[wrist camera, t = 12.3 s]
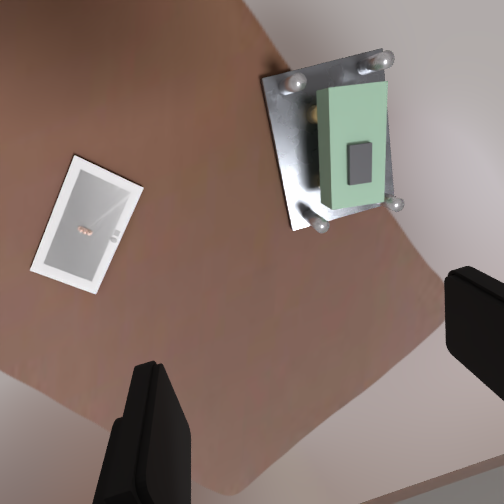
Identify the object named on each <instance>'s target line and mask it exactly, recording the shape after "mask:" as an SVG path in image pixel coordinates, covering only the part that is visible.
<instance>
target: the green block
mask: <svg viewBox="0 0 504 504" xmlns="http://www.w3.org/2000/svg"><path fill="white" fill-rule="evenodd" d="M387 86H388V81H383V82H374V83H365V84H356V85H348V86H339V87H330V88H325V89H322V90H318V91H316V96H317V122H318V147H319V172H320V197H321V204H323V205H325V206H326V207H328V208H330V209H331V210H335V209H342V208H348V207H354V206H361V205H367V204H374V203H380V202H384V192H385V157H386V123H387V88H388V87H387Z"/></svg>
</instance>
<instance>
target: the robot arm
mask: <svg viewBox="0 0 504 504" xmlns="http://www.w3.org/2000/svg"><path fill="white" fill-rule="evenodd" d="M444 287H445V328H446V346H447V348H448V350H449V352H450V353H451V354H452V355H453V356H454V357H455V358H456V359H457V360H458V361H460V362H461V363H462V364H463V365H464V366H465V367H466V368H467V369H468V370H470V371H471V372H472V373H473V374H474V375H475V376H476V377H478V378H479V379H480V380H481V381H482V382H483V383H484V384H486V386H488V387H489V388H490V389H491V390H492V391H493V392H494V393H496V394H497V395H498V396H499V397H500V398H501V399H502V400H503V401H504V283H502V282H500V281H498V280H496V279H494V278H492V277H490V276H488V275H487V274H485V273H483V272H480V271H479V270H477V269H475V268H473V267H470V266H465V267H462V268H459V269H456V270H452V271H450V272H449V273H448V277H446V278H445V281H444ZM92 504H191V433H190V428H189V425H188V422H187V420H186V418H185V415H184V413H183V411H182V408H181V406H180V404H179V401H178V399H177V396H176V394H175V392H174V389H173V387H172V385H171V382H170V380H169V378H168V375H167V373H166V370H165V368H164V366H163V364H162V363H160V364H156V362H155V361H150V362H147V363H144V364H140V365H137V366H135V368H134V371H133V375H132V379H131V384H130V388H129V392H128V396H127V401H126V405H125V409H124V413H123V417H121V418H117V419H116V420H115V421H114V424H113V426H112V430H111V434H110V438H109V442H108V446H107V449H106V453H105V458H104V461H103V465H102V469H101V473H100V476H99V480H98V484H97V488H96V492H95V495H94V499H93V503H92ZM360 504H504V454H503V455H500V456H497V457H494V458H491V459H488V460H485V461H482V462H479V463H477V464H473V465H471V466H468V467H465V468H462V469H459V470H456V471H453V472H450V473H447V474H444V475H442V476H438V477H436V478H433V479H430V480H427V481H424V482H421V483H418V484H415V485H412V486H409V487H406V488H404V489H401V490H398V491H395V492H392V493H389V494H387V495H383V496H381V497H378V498H375V499H372V500H369V501H366V502H363V503H360Z"/></svg>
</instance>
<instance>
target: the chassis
mask: <svg viewBox="0 0 504 504" xmlns="http://www.w3.org/2000/svg"><path fill="white" fill-rule="evenodd" d="M393 63H394V54H393V53H392V52H391V51H388V50H386V51H384V52H383V49H382V48H381V49H377V50H373V51H369V52H365V53H362V54H358V55H354V56H349V57H346V58H342V59H338V60H334V61H330V62H326V63H322V64H318V65H314V66H310V67H306V68H302V69H298V70H294V71H290V72H286V73H282V74H278V75H274V76H270V77H266V78H262V79H261V84H262V89H263V94H264V99H265V104H266V109H267V114H268V119H269V124H270V129H271V133H272V138H273V143H274V148H275V153H276V158H277V163H278V168H279V173H280V178H281V182H282V187H283V192H284V197H285V202H286V207H287V212H288V217H289V222H290V227H291V229H292V230H293V231H294V230H298V229H301V228H305V227H308V226H312V227H313V228H314V229H315V230H317V231H318V232H319V233H325V232H326V231H327V230H328V229H329V222H328V221H329V220H333V219H336V218H340V217H343V216H347V215H350V214H354V213H357V212H361V211H364V210H368V209H372V208H375V207H379V206H383V207H386V208H388V209H390V210H393V211H395V212H398V211H400V210H402V209H403V207H404V201H403V200H402V199H401V198H398V197H396V196H394V188H393V175H392V163H391V150H390V137H389V125H388V112H387V123H386V157H385V192H384V202H380V203H374V204H367V205H361V206H354V207H348V208H342V209H335V210H331V209H330V208H328V207H326V206H325V205H323V204H321V197H320V172H319V147H318V122H317V96H316V91H318V90H322V89H325V88H330V87H339V86H348V85H356V84H365V83H374V82H383V81H385V74H384V69H387V68H390V67H391V66H392V65H393Z"/></svg>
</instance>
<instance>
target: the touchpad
mask: <svg viewBox="0 0 504 504" xmlns="http://www.w3.org/2000/svg"><path fill="white" fill-rule="evenodd" d="M142 191H143V187H141V186H139V185H136V184H134V183H132V182H130V181H128V180H126V179H124V178H122V177H120V176H118V175H115V174H113V173H111V172H109V171H107V170H105V169H103V168H101V167H99V166H97V165H94V164H92V163H90V162H88V161H86V160H84V159H82V158H80V157H78V156H76V155H74V158H73V160H72V163H71V165H70V168H69V171H68V173H67V176H66V178H65V181H64V183H63V186H62V189H61V191H60V194H59V196H58V199H57V202H56V204H55V207H54V209H53V212H52V215H51V217H50V220H49V222H48V225H47V227H46V230H45V233H44V235H43V238H42V240H41V243H40V246H39V248H38V251H37V253H36V256H35V259H34V261H33V264H32V266H31V269H30V271H33V272H36V273H38V274H41V275H44V276H47V277H49V278H52V279H55V280H58V281H60V282H63V283H66V284H69V285H71V286H74V287H77V288H80V289H82V290H85V291H88V292H91V293H93V294H96V293H97V291H98V289H99V286H100V284H101V282H102V280H103V278H104V275H105V273H106V271H107V269H108V266H109V264H110V262H111V260H112V258H113V255H114V253H115V251H116V249H117V246H118V244H119V242H120V240H121V237H122V235H123V233H124V231H125V229H126V226H127V224H128V222H129V220H130V217H131V215H132V213H133V211H134V209H135V206H136V204H137V202H138V200H139V197H140V195H141V193H142Z"/></svg>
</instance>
